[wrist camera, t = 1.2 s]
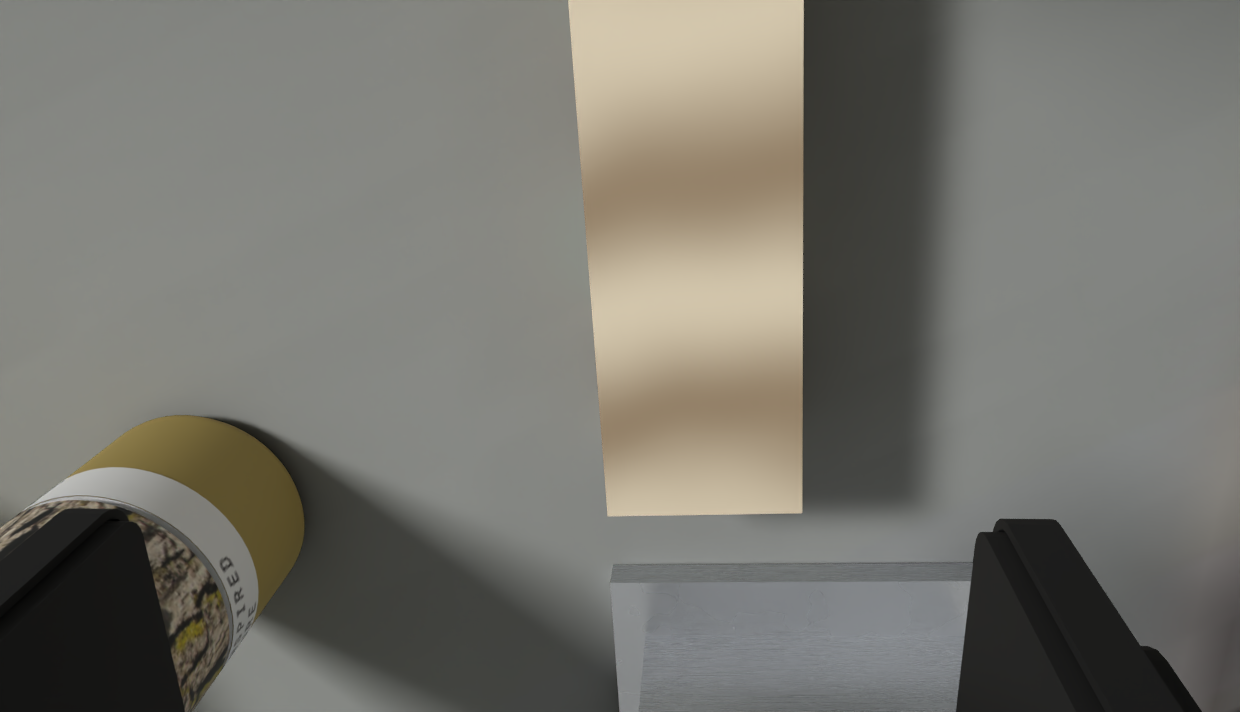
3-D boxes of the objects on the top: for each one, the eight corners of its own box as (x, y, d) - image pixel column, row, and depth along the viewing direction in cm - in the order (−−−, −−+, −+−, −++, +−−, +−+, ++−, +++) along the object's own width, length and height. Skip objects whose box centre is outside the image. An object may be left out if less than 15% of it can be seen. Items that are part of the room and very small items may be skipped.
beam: (576, -236, 24) (546, -291, 19) (783, -255, 23) (804, -315, 19) (622, 434, 30) (608, 516, 25) (786, 430, 30) (802, 512, 25)
